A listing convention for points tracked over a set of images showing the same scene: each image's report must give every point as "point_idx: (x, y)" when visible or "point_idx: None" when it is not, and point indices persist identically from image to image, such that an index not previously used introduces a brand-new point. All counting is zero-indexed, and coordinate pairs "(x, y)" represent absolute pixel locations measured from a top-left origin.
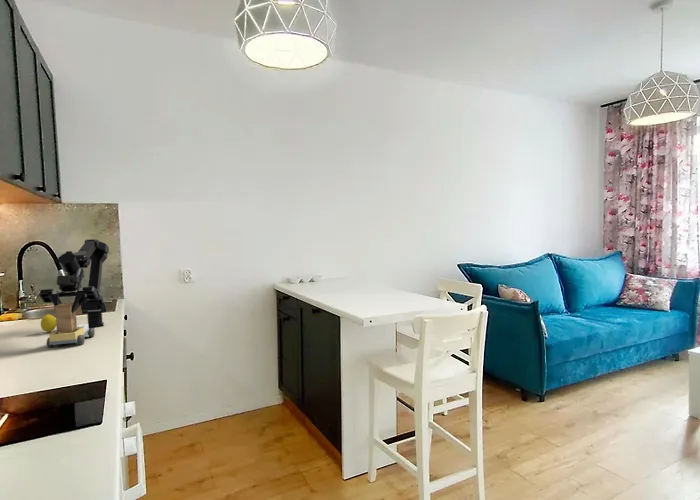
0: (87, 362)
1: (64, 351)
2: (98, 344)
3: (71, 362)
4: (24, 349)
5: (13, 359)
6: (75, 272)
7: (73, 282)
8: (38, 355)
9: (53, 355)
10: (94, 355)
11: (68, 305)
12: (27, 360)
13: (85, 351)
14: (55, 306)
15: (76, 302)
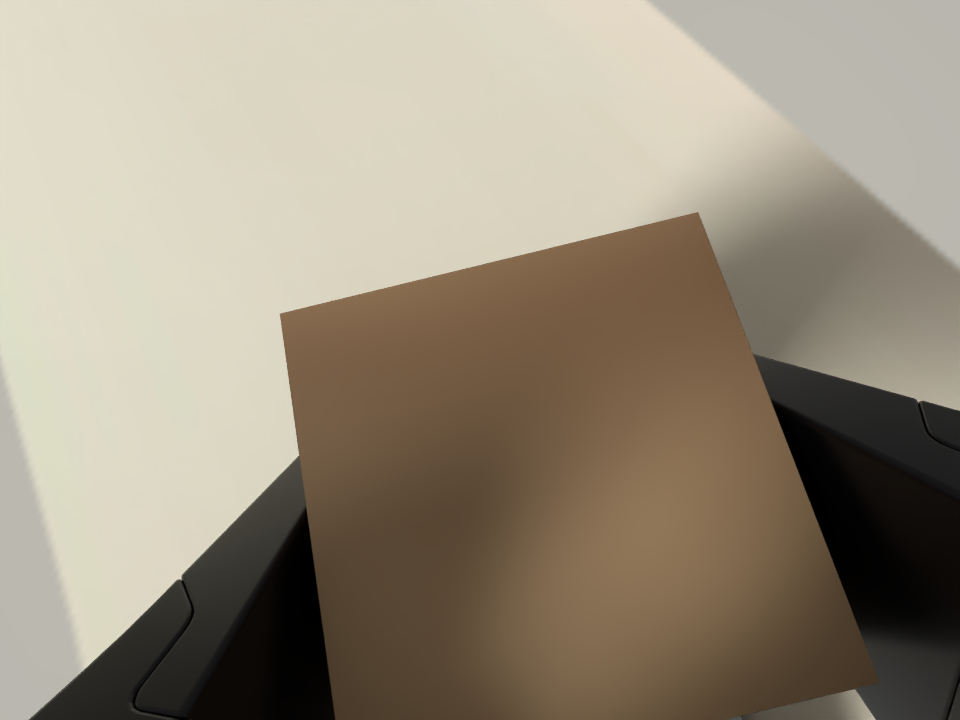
0: (95, 31)
1: (413, 278)
2: (207, 474)
3: (202, 34)
4: (878, 374)
5: (702, 107)
6: None
7: None
8: (570, 188)
9: (437, 181)
10: (108, 163)
11: (327, 308)
12: (562, 81)
13: (226, 264)
14: (679, 218)
15: (174, 597)
